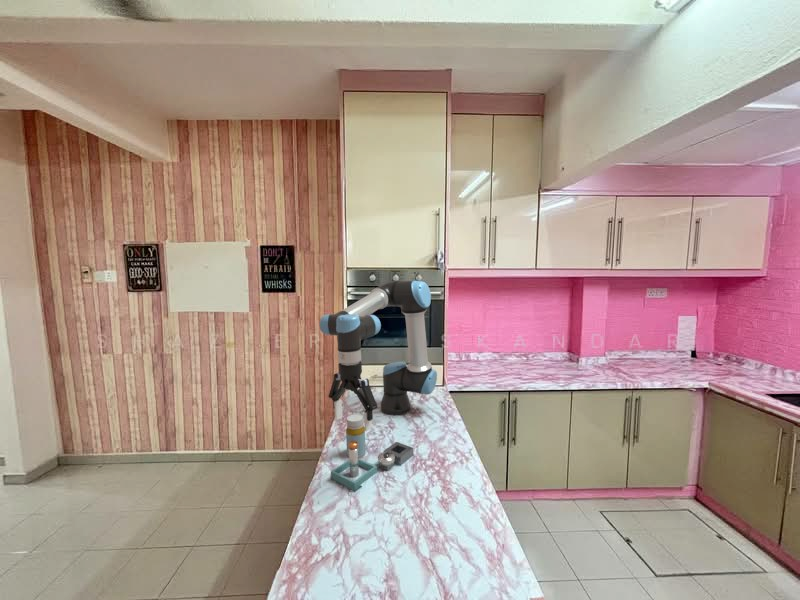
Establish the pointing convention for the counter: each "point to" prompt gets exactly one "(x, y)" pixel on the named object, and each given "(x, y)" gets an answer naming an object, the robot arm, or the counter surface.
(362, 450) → the bottle
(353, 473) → the pin
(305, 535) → the counter surface
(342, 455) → the counter surface
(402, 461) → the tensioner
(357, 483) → the tray
